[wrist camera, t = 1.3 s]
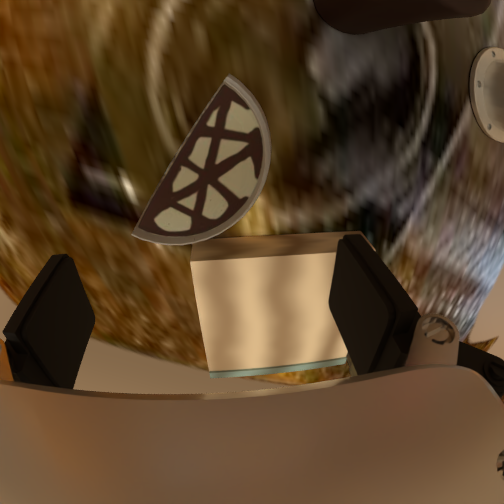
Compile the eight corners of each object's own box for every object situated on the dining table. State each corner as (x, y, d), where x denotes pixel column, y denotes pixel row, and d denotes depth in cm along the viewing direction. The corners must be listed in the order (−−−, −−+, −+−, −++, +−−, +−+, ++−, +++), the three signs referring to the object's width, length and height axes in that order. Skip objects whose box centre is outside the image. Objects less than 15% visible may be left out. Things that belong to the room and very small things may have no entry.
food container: (210, 219, 30) (207, 280, 21) (155, 189, 27) (128, 241, 19) (284, 114, 25) (318, 132, 16) (227, 76, 23) (230, 72, 14)
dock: (360, 230, 32) (376, 251, 28) (336, 341, 41) (344, 364, 38) (193, 240, 31) (190, 263, 27) (210, 353, 40) (210, 378, 36)
